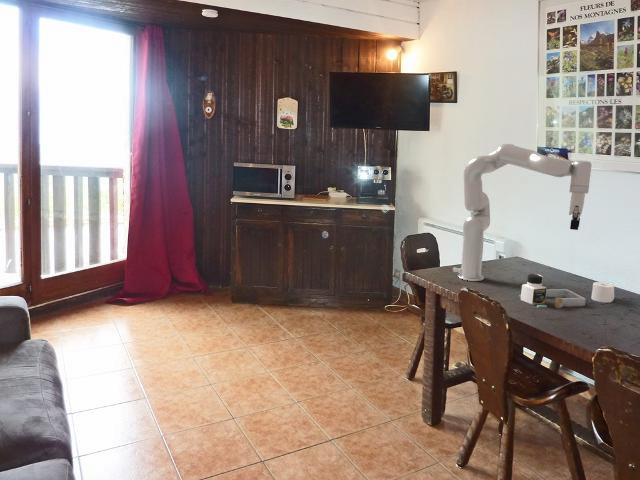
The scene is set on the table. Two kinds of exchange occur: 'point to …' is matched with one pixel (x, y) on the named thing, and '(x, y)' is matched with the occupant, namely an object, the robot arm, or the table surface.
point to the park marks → (540, 305)
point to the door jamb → (558, 302)
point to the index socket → (570, 296)
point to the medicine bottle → (533, 290)
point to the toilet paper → (602, 292)
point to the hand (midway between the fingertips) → (574, 227)
